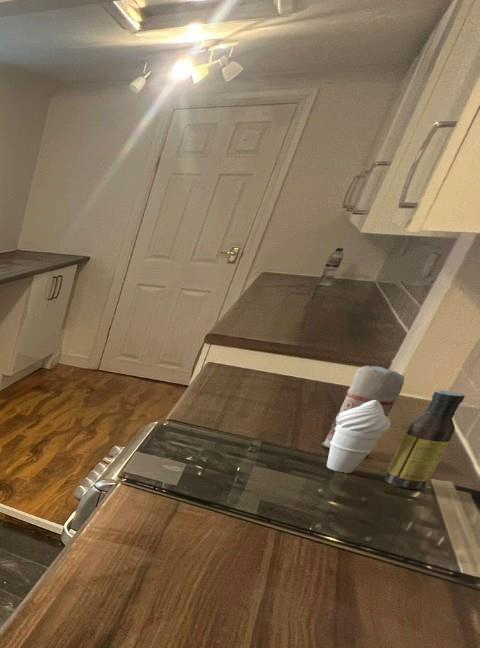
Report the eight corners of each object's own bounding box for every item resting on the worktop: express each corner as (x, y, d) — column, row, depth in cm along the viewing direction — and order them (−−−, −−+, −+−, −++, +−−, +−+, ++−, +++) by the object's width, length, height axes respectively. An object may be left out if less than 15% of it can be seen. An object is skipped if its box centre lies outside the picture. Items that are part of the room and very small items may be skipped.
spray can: (317, 440, 143) (355, 361, 134) (361, 447, 139) (403, 366, 131) (325, 452, 137) (366, 369, 128) (372, 459, 133) (417, 375, 124)
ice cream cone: (347, 479, 123) (384, 408, 116) (304, 463, 130) (337, 395, 123) (374, 475, 125) (411, 404, 118) (330, 459, 132) (363, 392, 125)
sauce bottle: (431, 489, 119) (485, 397, 111) (410, 492, 118) (463, 399, 109) (393, 476, 125) (442, 387, 116) (373, 478, 124) (421, 389, 115)
